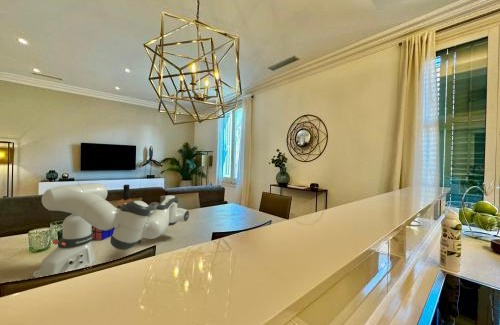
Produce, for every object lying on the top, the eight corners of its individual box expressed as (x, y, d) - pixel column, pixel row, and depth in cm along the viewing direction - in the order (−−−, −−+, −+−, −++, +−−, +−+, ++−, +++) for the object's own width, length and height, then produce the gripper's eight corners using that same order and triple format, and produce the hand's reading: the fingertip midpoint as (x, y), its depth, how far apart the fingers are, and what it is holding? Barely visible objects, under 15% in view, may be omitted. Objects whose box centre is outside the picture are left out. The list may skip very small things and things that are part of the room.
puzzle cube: (101, 240, 133) (102, 224, 133) (88, 238, 135) (88, 223, 135) (115, 234, 143) (115, 220, 143) (102, 233, 145) (102, 218, 145)
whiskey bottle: (136, 229, 155) (137, 184, 154) (122, 232, 147) (122, 186, 146) (129, 225, 161) (129, 183, 160) (115, 229, 153) (115, 184, 151)
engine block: (154, 219, 150) (154, 203, 149) (148, 218, 151) (148, 203, 151) (159, 217, 154) (159, 202, 154) (154, 216, 156) (154, 201, 156)
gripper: (156, 221, 138) (140, 218, 143) (178, 213, 157) (163, 211, 162) (156, 211, 138) (140, 209, 143) (178, 205, 157) (164, 203, 162)
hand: (153, 210), depth 153 cm, fingers closed on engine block, 5 cm apart
